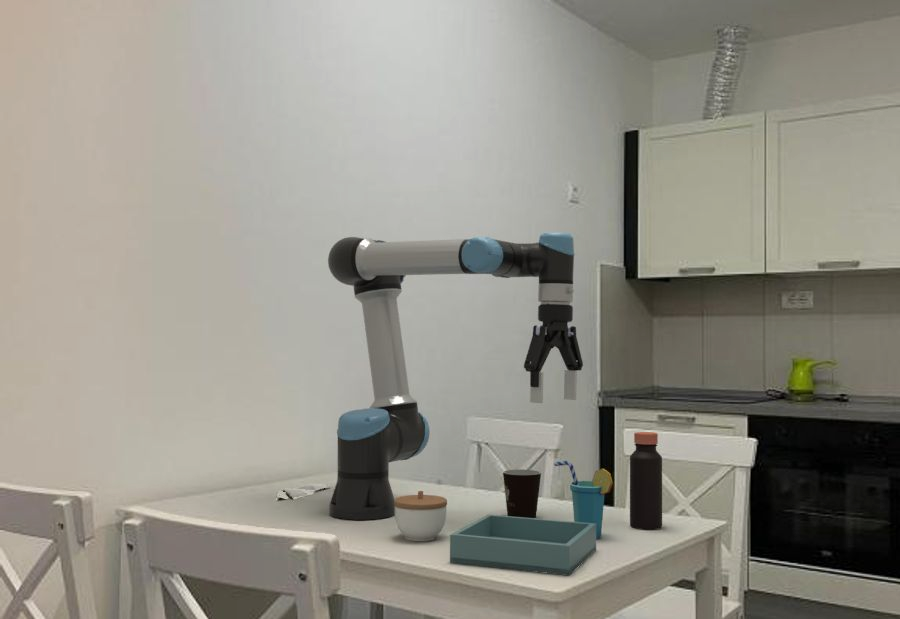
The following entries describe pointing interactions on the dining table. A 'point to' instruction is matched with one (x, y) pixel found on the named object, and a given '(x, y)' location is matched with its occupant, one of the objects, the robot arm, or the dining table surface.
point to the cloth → (307, 487)
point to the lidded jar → (420, 516)
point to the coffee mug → (522, 492)
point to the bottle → (646, 483)
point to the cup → (589, 496)
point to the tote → (524, 544)
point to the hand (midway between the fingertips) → (553, 401)
